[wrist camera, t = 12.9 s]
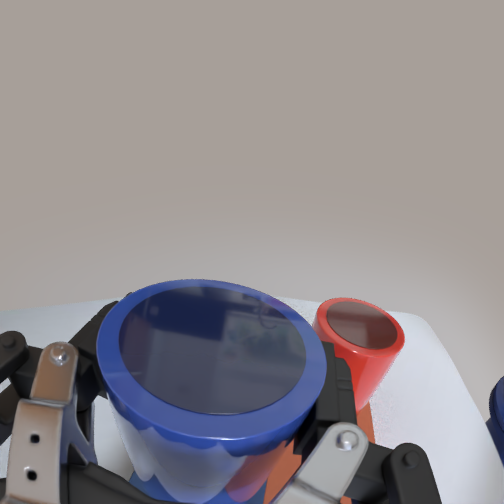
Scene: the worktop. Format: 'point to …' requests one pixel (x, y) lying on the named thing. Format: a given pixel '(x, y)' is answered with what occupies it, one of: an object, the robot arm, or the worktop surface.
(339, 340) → the red beaker
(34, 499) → the robot arm
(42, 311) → the worktop surface
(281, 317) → the blue beaker
